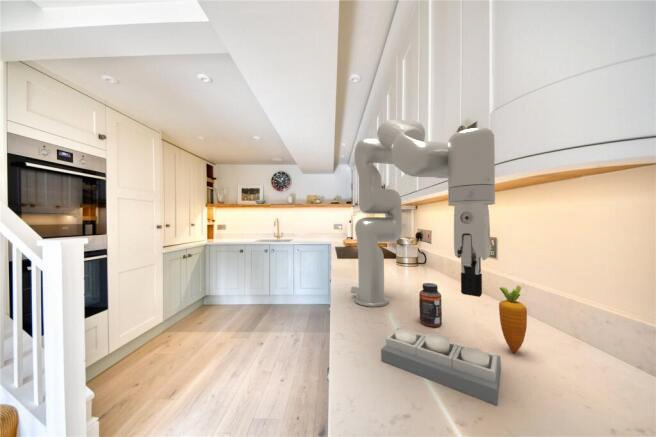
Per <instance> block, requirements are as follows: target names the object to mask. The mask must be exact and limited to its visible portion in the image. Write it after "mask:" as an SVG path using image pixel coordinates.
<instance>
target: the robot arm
mask: <svg viewBox="0 0 656 437" xmlns="http://www.w3.org/2000/svg"><path fill="white" fill-rule="evenodd" d="M376 137H377V138H376ZM376 137H369V138H361V139H360V140H359V141H357V143H356V145H355V149H354V163H355V164H354V165H355V169H356V173H357V175H358V206H359V209H360V211H361V212H362V213H364V214H370V215H371V214H373V215H374V214H379V215H380V214H382V215H385V216H383V217H382V216H381V217H379V216H377V217H375V216H373V217H372V216H369V217H368V216H366V217H362V218H359V219H358V220H357V222H356V223H355V227H354V231H355V237H356V243H357V244H356V245H357V259H358V264H357V265H358V266H357V268H358V269H357V270H358V271H357V272H358V273H357V274H358V287H357V286H351V287H350V293H351V294H355V295H356V296H355V297H354V302H355V303H357V305H360V306H364V307H374V308H375V307H376V308H377V307H383V306H387V305H388V304H389V303H390V302H389V300H390V299H389V297H387V296H386V295H385V261H384V259H385V258H384V257H385V256H384V253H383V250H382V248H381V247H380V246H379V244H378V243H393V242H397V241H398V240H400V238H401V236H402V232H403V231H402V227H403V222H402V221H403V220H402V217H403V216H402V214H403V213H402V210H403V209H402V208H403V207H402V198H401V195H400V194H399V192H398V191H397V190H396V189H391V188H383V187H382V186H383V185H382V175H381V173H380V171H379V169H378V168H377V167H376V165H375V164H385V165H393V166H395V167H396V168H397V169H399V170H400V171H401V172H402V173H404V174H406V175H408V176H409V177H410V176H411V177H415V178H433V179H434V178H435V179H447V181H448V182H447V184H448V186H447V187H448V190H447V191H448V192H447V195H448V196H447V197H448V198H447V199H448V201H447V202H448V203H447V204H448V206H450V207H454V208H453V209H454V211H453V249H454V250H453V251H454V256H455V257H456V258H458V259H460V261H461V262H460V263H461V265H460V268H461V270H460V271H461V272H460V293H461V294H462V295H466V296H471V297H478V298H480V297H481V296H482V295H483V274H482V261H486V260H487V259H488V258H489V257H490V255H491V234H490V233H491V228H490V227H491V226H490V210H489V206H491V205H495V204H496V185H495V184H496V181H495V179H496V178H495V176H496V173H495V172H496V169H495V168H496V167H495V166H496V165H495V164H496V162H495V161H496V160H495V159H496V158H495V157H496V156H495V134H494V132H493V131H492V129H490V128H487V127H473V128H471V127H470V128H466V129H463V130H460V131H458V132H455V133H454V134H452V135H451V136H450V137H449V139H448V142H440V141H439V142H437V141H430V140H429V141H426V140H425V138H426V129H425V127H424V126H423V124H422V123H420V122H418V121H415V120H414V121H413V120H405V119H404V120H403V119H395V118H394V119H387V120H385V121H383V122H382V123H380V124H379V127H378V128H377V132H376Z"/></svg>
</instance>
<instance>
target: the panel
mask: <svg viewBox="0 0 656 437" xmlns="http://www.w3.org/2000/svg"><path fill="white" fill-rule="evenodd" d="M400 329H401V328H399V327H396V328H395V329H394V331H392V332H391V333H390V334H389V335H387V337H386V338H385V345H383V347H382V348H381V350H380V351H381V353H380V358H381V362H384V363H386V364H389V365H391V366H393V367H396V368H399V369H401V370H404V371H407V372H409V373H412V374H414V375H417V376H419V377H422V378H425V379H428V380H430V381H433V382H435V383H437V384H440V385H443V386H446V387H447V388H451V389H454V390H455V391H458V392H461V393H463V394H466V395H469V396H472V397H473V398H477V399H478V400H482V401H484V402H487V403H490V404H492V405H495V406H498V399H499V390H500V380H501V379H500V378H501V372H502V371H501V368H502V367H501V355H498V354H494V353H492V352H488V351H485V350H483V351H484V352H485V353H487V354H488V356H489V369H488V368H485V367H482V366H478V365H475V364H472V363H469V362H466V361H462V360H461V350H462V349H463V348H466V347H468V346H466V345H462V344H459V343H456V342H452V341H449V345H450V352H449V353H448V354H445V355H443V354H440V353H437V352H433V351H430V350H427V349H426V335H427V334H423V333H419V332H416V331H413V332H414V333H416V340H417V342H416V343H415V344H414V345H411V344H408V343H405V342H401V341H398V340H396V338H395V332H396V331H397V330H400Z"/></svg>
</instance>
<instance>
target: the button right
mask: <svg viewBox="0 0 656 437" xmlns="http://www.w3.org/2000/svg"><path fill="white" fill-rule="evenodd" d="M484 351H485V350H482V349H479V348H475V347H470V346H467V347H466V348H463V349H462V350H461V360H462V361H466V362H469V363H472V364H475V365H478V366H482V367H485V368H488V369H489V356H488V354H487V353H485V352H486V351H485V352H484Z"/></svg>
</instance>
